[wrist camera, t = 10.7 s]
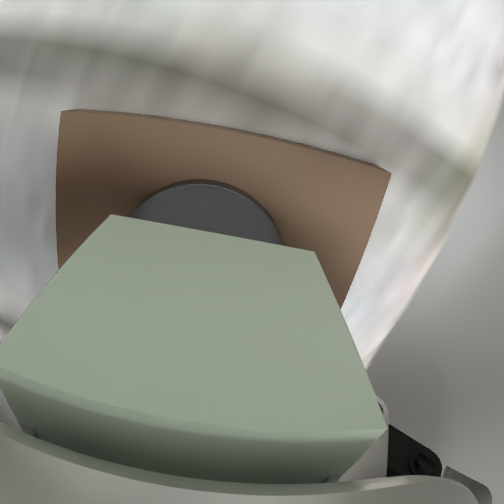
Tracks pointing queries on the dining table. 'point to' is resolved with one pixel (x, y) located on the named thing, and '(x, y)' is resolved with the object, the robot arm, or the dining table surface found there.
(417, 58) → the dining table surface
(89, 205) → the board
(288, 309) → the pale green cube
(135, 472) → the robot arm
